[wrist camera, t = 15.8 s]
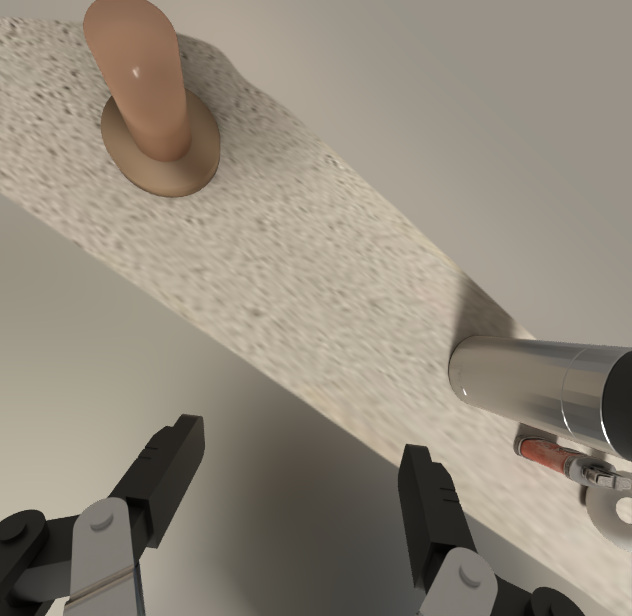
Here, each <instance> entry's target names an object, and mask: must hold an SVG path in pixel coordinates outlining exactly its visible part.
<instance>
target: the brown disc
mask: <svg viewBox="0 0 632 616" xmlns="http://www.w3.org/2000/svg"><path fill="white" fill-rule="evenodd" d="M185 95H186V102H187V109H188V116H189V122H190V129H191V136H192V142H191V146H190V149H189V151H188V152H187V153H186V155H185V156H183V157H182V158H180V159H178V160H176V161H172V162H160V161H156V160H153V159H151V158H149V157H148V156H146V155H145V154H144V153H142V152H141V151H140V149H139V148H138V147H137V145H136V144H135V142H134V139H133V137H132V135H131V133H130V131H129V129H128V127H127V125H126V123H125V121H124V119H123V117H122V114H121V112H120V110H119V108H118V106H117V104H116V102H115V100H114V98H113V96H111V97H110V98H109V100H108V101H107V103H106V105H105V107H104V109H103V113H102V117H101V133H102V138H103V141H104V144H105V146H106V149H107V151H108V153H109V154H110V156H111V157H112V159H113V160H114V162H115V163H116V165H117V166H118V168H119V169H120V171H121V172H122V173H123V174H124V176H125V177H126V178H127V179H128V180H129V181H130V182H132V183H133V184H134V185H136V186H137V187H139V188H140V189H142V190H144V191H146V192H149V193H151V194H154V195H157V196H162V197H183V196H187V195H190V194H193V193H195V192H197V191H199V190H201V189H202V188H204V187H205V186H206V185H207V184H208V183H209V182H210V181H211V179H212V178H213V176H214V175H215V173H216V171H217V168H218V164H219V158H220V135H219V130H218V126H217V123H216V121H215V119H214V117H213V115H212V113H211V112H210V110H209V109H208V107H207V106H206V105H205V104H204V103H203V102H202V101H201V100H200V99H199V98H198V97H197V96H196V95H195V94H193V93H192V92H190V91H189V90H187V89H186V88H185Z"/></svg>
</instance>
